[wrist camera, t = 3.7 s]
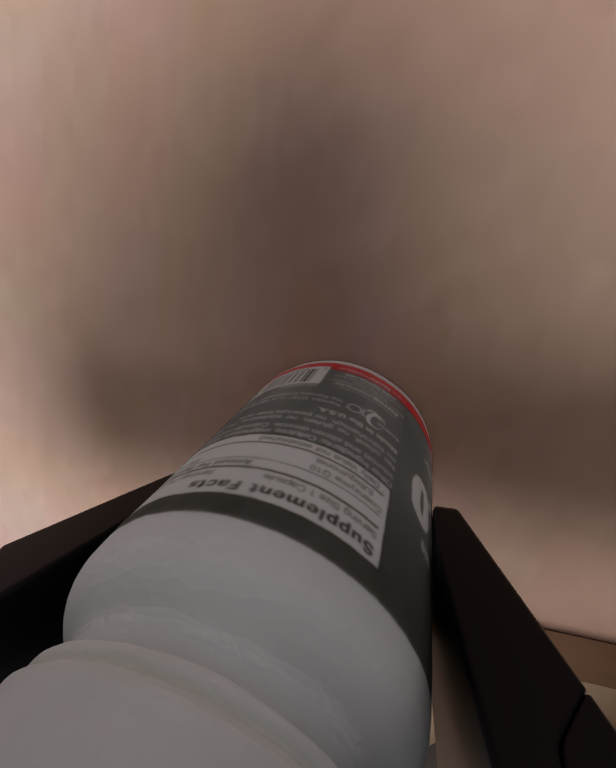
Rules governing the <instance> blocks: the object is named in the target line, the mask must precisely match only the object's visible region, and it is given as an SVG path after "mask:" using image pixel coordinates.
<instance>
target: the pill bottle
mask: <svg viewBox="0 0 616 768" xmlns="http://www.w3.org/2000/svg"><path fill="white" fill-rule="evenodd" d="M432 470H433V458H432V448H431V442H430V437H429V433H428V430H427V427H426V425H425V422H424V420H423V418H422V416H421V414H420V412H419V411H418V409H417V408H416V406H415V405H414V404H413V402H412V401H411V400H410V399H409V397H408V396H407V395H406V394H405V393H404V392H403V391H402V390H400V389H399V388H398V387H397V386H396V385H394V384H393V383H391V382H390V381H389V380H387V379H386V378H384V377H383V376H381V375H379V374H377V373H376V372H374V371H372V370H369V369H367V368H365V367H362V366H359V365H356V364H352V363H348V362H342V361H315V362H309V363H305V364H301V365H298V366H295V367H293V368H290V369H288V370H286V371H284V372H282V373H281V374H279V375H277V376H276V377H275V378H273V379H272V380H271V381H270V382H269V383H267V384H266V385H265V386H264V387H263V388H262V389H261V390H260V391H259V392H258V393H257V394H256V395H255V396H254V397H253V398H252V399H251V400H250V401H249V402H248V403H247V404H246V405H245V406H244V407H243V408H242V409H241V410H240V411H239V412H238V413H237V414H236V415H235V416H234V417H233V418H232V419H231V420H230V421H229V422H228V423H227V424H226V425H225V426H224V427H223V428H221V429H220V430H219V431H218V432H217V433H216V434H215V435H214V436H213V437H212V438H211V439H210V440H209V441H208V442H207V443H206V444H205V445H204V446H203V447H202V448H201V449H199V450H198V451H197V452H196V453H195V454H194V455H193V456H192V457H191V458H190V459H189V460H188V461H187V462H186V463H185V464H184V465H183V466H182V467H181V468H180V469H179V470H178V471H177V472H176V473H175V474H174V475H173V476H171V477H170V478H169V479H168V480H167V481H166V482H165V483H164V484H163V485H162V486H161V487H160V488H159V489H158V490H157V491H156V492H155V493H154V494H152V495H151V496H150V497H149V498H148V499H147V500H146V501H145V502H144V503H143V504H142V505H141V506H140V507H139V508H138V509H137V510H136V511H135V512H133V513H132V514H131V515H130V516H129V517H128V518H126V519H125V520H124V521H123V522H122V523H121V524H120V525H119V526H118V527H117V528H116V529H115V531H114V532H113V533H112V534H111V535H110V536H109V537H108V538H107V539H106V540H105V541H104V542H103V543H102V544H101V545H100V546H99V548H98V549H97V550H96V551H95V552H94V553H93V554H92V555H91V556H90V557H89V559H88V560H87V562H86V563H85V564H84V566H83V567H82V569H81V570H80V572H79V574H78V575H77V577H76V579H75V581H74V583H73V585H72V588H71V590H70V593H69V596H68V599H67V603H66V607H65V612H64V618H63V642H64V643H62V644H59V645H56V646H53V647H51V648H49V649H47V650H44V651H43V652H42V653H40V654H39V655H38V656H37V657H36V658H34V659H33V660H32V661H31V663H30V664H29V665H28V666H27V667H24V668H21V669H19V670H17V671H15V672H13V673H12V674H10V675H9V676H8V677H7V678H5V679H4V681H3V682H2V683H1V684H0V768H424V765H425V761H426V757H427V752H428V748H429V743H430V730H431V714H432V587H433V578H432V539H433V533H432V521H433V520H432Z"/></svg>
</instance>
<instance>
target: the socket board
mask: <svg viewBox="0 0 616 768" xmlns="http://www.w3.org/2000/svg"><path fill="white" fill-rule="evenodd" d="M544 631H545V632H546V634H547V635H548V636H549V638H550V639H551V641H552V642H553V643H554V645H555V646H556V648H557V649H558V650H559V652H560V653H561V655H562V656H563V657H564V659H565V660H566V662H567V663H568V664H569V666H570V667H571V669H572V670H573V671H574V673H575V674H576V675H577V677H578V678H579V680H580V681H581V682H582V684H583V685H584V687H585V688H586V694H588V695H591V696H592V697H593V699H594V700H595V702H596V703H597V704H598V706H599V707H600V709H601V710H602V711H603V713H604V714H605V716H606V717H607V718H608V720H609V721H610V723H611V724H612V725H613V727H614V728H615V730H616V645H614V644H609V643H605V642H600V641H595V640H591V639H586V638H582V637H577V636H572V635H568V634H563V633H558V632H554V631H549V630H544ZM586 694H585V695H586ZM424 768H438V767H437V755H436V743H435V731H434V720H433V708H432V714H431V730H430V743H429V748H428V752H427V757H426V761H425V765H424Z"/></svg>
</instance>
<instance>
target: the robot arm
mask: <svg viewBox="0 0 616 768" xmlns="http://www.w3.org/2000/svg"><path fill="white" fill-rule="evenodd" d="M175 473H176V472H175ZM175 473H173V474H171V475H168V476H166V477H164V478H161V479H159V480H157V481H154V482H152V483H150V484H147V485H145V486H143V487H140V488H138V489H136V490H133V491H131V492H128V493H126V494H124V495H121V496H119V497H117V498H114V499H112V500H110V501H107V502H105V503H103V504H100V505H98V506H96V507H93V508H91V509H89V510H86V511H84V512H82V513H79V514H77V515H75V516H72V517H70V518H68V519H65V520H63V521H60V522H58V523H56V524H53V525H51V526H49V527H46V528H44V529H42V530H39V531H37V532H35V533H32V534H30V535H28V536H25V537H23V538H21V539H18V540H16V541H14V542H11V543H9V544H7V545H4V546H3V547H2V548H1V549H0V684H1V683H2V682H3V681H4V679H5V678H7V677H8V676H9V675H10V674H12V673H13V672H15V671H17V670H19V669H21V668H24V667H27V666H28V665H29V664H30V663H31V661H32V660H33V659H34V658H36V657H37V656H38V655H39V654H40V653H42V652H43V651H44V650H47V649H49V648H51V647H53V646H56V645H59V644H62V643H64V642H63V618H64V612H65V607H66V603H67V599H68V596H69V593H70V590H71V588H72V585H73V583H74V581H75V579H76V577H77V575H78V574H79V572H80V570H81V569H82V567H83V566H84V564H85V563H86V562H87V560H88V559H89V557H90V556H91V555H92V554H93V553H94V552H95V551H96V550H97V549H98V548H99V546H100V545H101V544H102V543H103V542H104V541H105V540H106V539H107V538H108V537H109V536H110V535H111V534H112V533H113V532H114V531H115V529H116V528H117V527H118V526H119V525H120V524H121V523H122V522H123V521H124V520H125V519H126V518H128V517H129V516H130V515H131V514H132V513H133V512H135V511H136V510H137V509H138V508H139V507H140V506H141V505H142V504H143V503H144V502H145V501H146V500H147V499H148V498H149V497H150V496H151V495H152V494H154V493H155V492H156V491H157V490H158V489H159V488H160V487H161V486H162V485H163V484H164V483H165V482H166V481H167V480H168V479H169V478H170V477H171V476H173V475H174V474H175ZM432 520H433V521H432V533H433V539H432V578H433V587H432V708H433V720H434V731H435V743H436V755H437V767H438V768H616V730H615V728H614V727H613V725H612V724H611V723H610V721H609V720H608V718H607V717H606V716H605V714H604V713H603V711H602V710H601V709H600V707H599V706H598V704H597V703H596V702H595V700H594V699H593V697H592V696H591V695H588V694H586V688H585V687H584V685H583V684H582V682H581V681H580V680H579V678H578V677H577V675H576V674H575V673H574V671H573V670H572V669H571V667H570V666H569V664H568V663H567V662H566V660H565V659H564V657H563V656H562V655H561V653H560V652H559V650H558V649H557V648H556V646H555V645H554V643H553V642H552V641H551V639H550V638H549V636H548V635H547V634H546V632H545V631H544V629H543V628H542V627H541V625H540V624H539V622H538V621H537V620H536V618H535V617H534V616H533V614H532V613H531V611H530V610H529V609H528V607H527V606H526V604H525V603H524V602H523V600H522V599H521V597H520V596H519V595H518V593H517V592H516V590H515V589H514V588H513V586H512V585H511V583H510V582H509V581H508V579H507V578H506V576H505V575H504V574H503V572H502V571H501V569H500V568H499V567H498V565H497V564H496V563H495V561H494V560H493V558H492V557H491V556H490V554H489V553H488V551H487V550H486V549H485V547H484V546H483V544H482V543H481V542H480V540H479V539H478V537H477V536H476V535H475V533H474V532H473V530H472V529H471V528H470V526H469V525H468V523H467V522H466V521H465V519H464V518H463V516H462V515H461V514H460V512H459V511H458V510H456V509H452V508H445V507H435V508H434V510H433V517H432ZM585 694H586V695H585Z"/></svg>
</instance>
